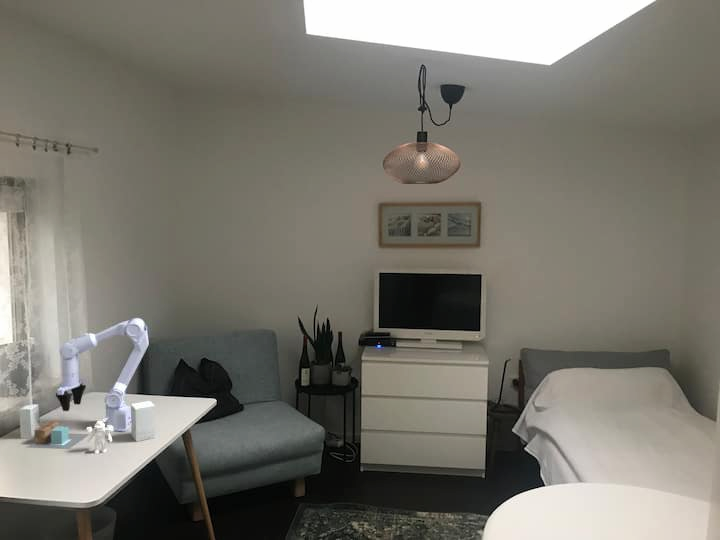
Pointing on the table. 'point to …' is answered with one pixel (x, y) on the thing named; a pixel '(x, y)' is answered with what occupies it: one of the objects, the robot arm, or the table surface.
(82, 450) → the table surface
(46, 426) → the walnut blocks
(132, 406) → the supplement box
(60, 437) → the teal block
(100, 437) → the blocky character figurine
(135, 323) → the robot arm
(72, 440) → the baseplate
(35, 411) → the skincare box
